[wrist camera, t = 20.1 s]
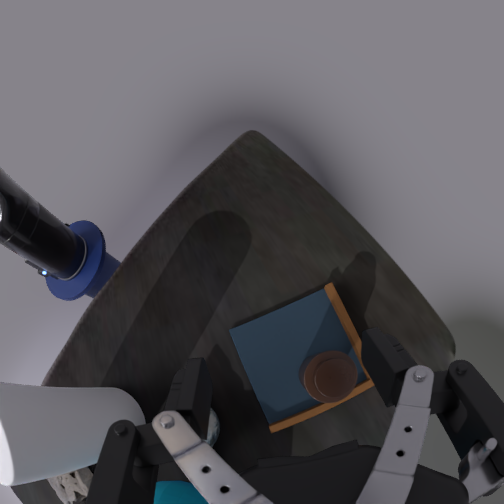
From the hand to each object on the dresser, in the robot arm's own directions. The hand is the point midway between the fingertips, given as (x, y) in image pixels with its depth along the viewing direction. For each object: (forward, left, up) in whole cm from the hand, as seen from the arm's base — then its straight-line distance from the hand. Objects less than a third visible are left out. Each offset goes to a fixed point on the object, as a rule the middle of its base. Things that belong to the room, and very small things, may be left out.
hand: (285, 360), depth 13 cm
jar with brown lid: (+3, -3, -22) cm, 23 cm away
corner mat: (+2, -1, -23) cm, 23 cm away
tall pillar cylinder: (-28, -1, -24) cm, 36 cm away
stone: (-44, -12, -24) cm, 51 cm away
